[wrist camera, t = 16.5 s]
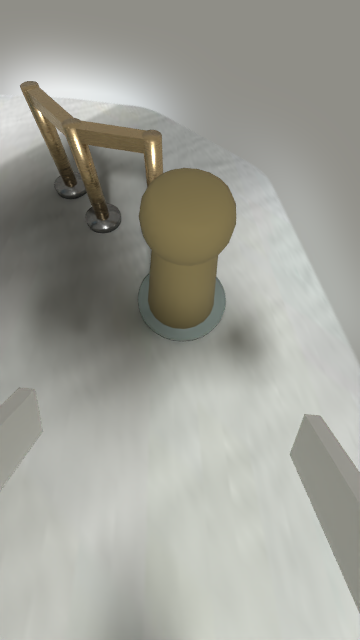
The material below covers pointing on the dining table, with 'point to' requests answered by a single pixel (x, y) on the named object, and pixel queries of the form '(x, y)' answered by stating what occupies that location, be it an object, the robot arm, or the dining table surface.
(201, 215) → the cork
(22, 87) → the rail
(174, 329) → the coaster
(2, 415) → the robot arm
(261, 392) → the dining table surface
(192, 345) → the dining table surface
